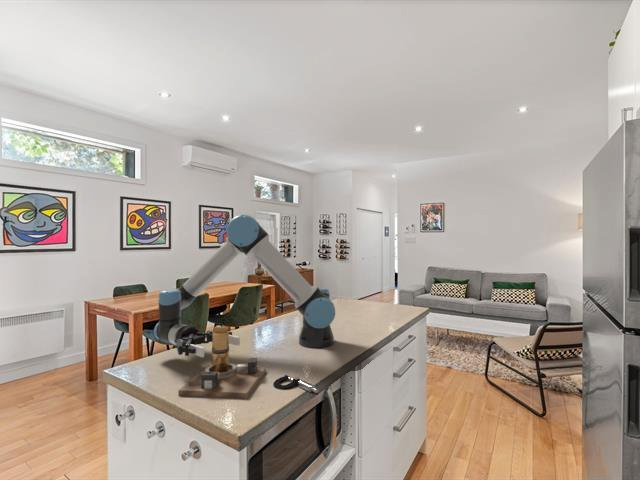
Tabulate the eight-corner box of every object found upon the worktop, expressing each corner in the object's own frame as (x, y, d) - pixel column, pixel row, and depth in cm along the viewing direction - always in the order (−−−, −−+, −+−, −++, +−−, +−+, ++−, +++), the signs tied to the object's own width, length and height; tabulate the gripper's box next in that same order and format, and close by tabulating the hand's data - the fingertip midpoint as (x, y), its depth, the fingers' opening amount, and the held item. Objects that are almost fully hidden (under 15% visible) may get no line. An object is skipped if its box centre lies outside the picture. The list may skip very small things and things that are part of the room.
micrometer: (268, 385, 99) (268, 377, 99) (287, 378, 104) (287, 370, 104) (300, 402, 88) (300, 393, 88) (319, 393, 93) (319, 384, 93)
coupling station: (265, 371, 109) (265, 355, 109) (246, 398, 90) (246, 379, 90) (208, 369, 111) (208, 354, 111) (178, 395, 93) (178, 376, 93)
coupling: (231, 369, 107) (231, 325, 107) (225, 376, 102) (225, 329, 102) (216, 369, 108) (216, 325, 108) (209, 375, 102) (208, 329, 103)
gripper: (214, 338, 127) (251, 348, 114) (149, 356, 106) (186, 371, 94) (214, 318, 127) (251, 326, 114) (149, 333, 107) (185, 344, 94)
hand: (222, 346), depth 104 cm, fingers open, 13 cm apart
